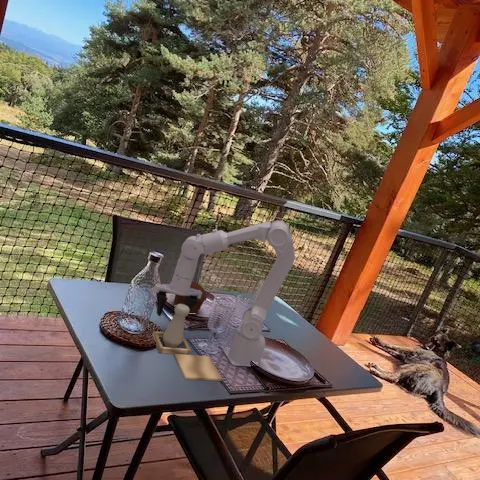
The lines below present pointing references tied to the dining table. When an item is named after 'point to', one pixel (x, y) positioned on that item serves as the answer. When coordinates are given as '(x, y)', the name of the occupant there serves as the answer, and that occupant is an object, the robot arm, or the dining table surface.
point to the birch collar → (167, 349)
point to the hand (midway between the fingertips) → (170, 315)
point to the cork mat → (197, 367)
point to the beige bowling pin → (176, 327)
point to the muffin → (180, 298)
